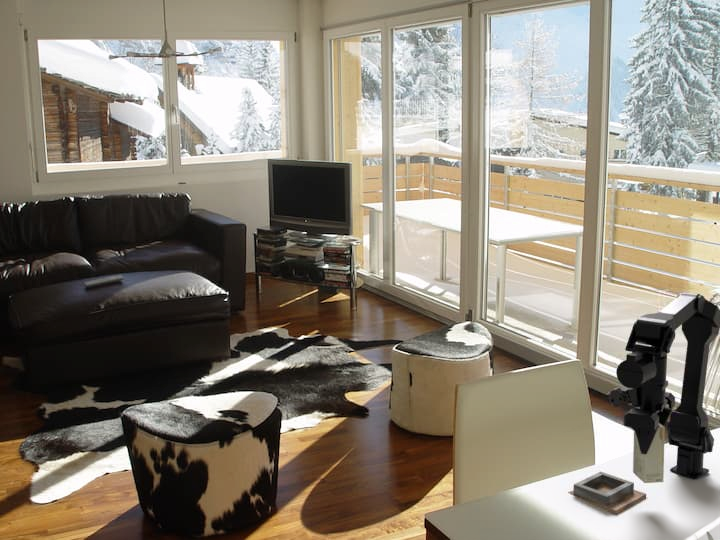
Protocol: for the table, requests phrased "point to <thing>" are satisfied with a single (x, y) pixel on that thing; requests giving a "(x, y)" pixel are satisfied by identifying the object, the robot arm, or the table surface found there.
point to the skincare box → (650, 459)
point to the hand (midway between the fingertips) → (648, 448)
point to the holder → (607, 492)
